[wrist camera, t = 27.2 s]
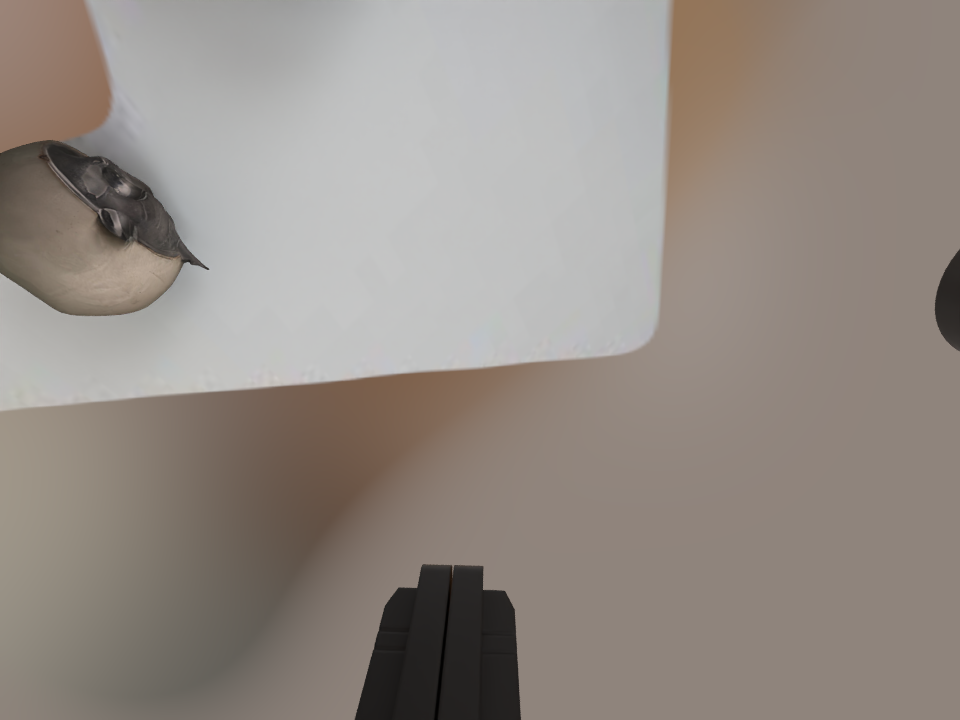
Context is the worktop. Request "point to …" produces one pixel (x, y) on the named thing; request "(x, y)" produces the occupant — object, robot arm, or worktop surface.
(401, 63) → the worktop surface
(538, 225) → the worktop surface
